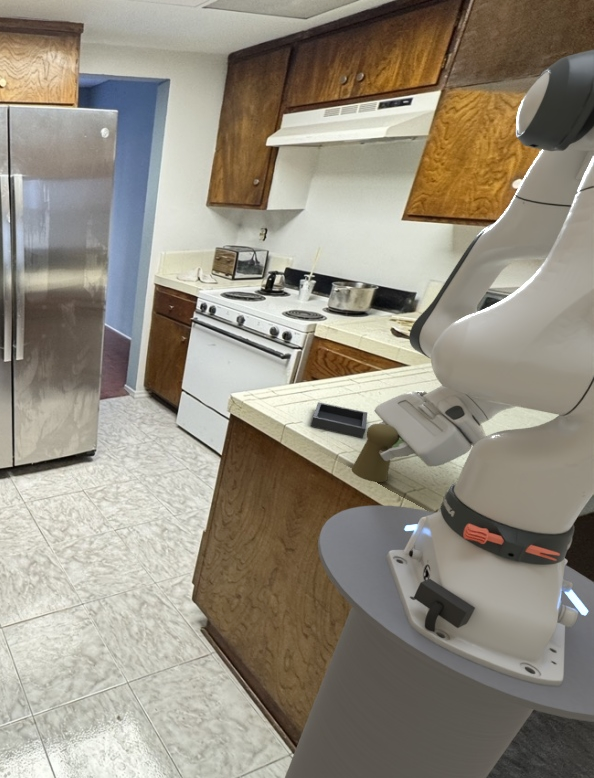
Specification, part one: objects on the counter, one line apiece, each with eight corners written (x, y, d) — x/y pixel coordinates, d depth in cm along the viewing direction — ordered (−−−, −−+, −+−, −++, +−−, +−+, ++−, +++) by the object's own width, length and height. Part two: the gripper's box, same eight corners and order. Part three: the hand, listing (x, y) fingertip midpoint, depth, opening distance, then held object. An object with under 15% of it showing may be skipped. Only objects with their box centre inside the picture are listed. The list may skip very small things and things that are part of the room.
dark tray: (362, 438, 110) (365, 429, 109) (310, 426, 116) (313, 417, 115) (364, 421, 117) (367, 412, 116) (315, 410, 123) (318, 402, 122)
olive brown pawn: (379, 467, 99) (396, 421, 94) (392, 484, 93) (411, 436, 89) (346, 463, 100) (362, 418, 96) (357, 479, 95) (374, 432, 90)
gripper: (412, 377, 97) (345, 414, 103) (473, 422, 79) (387, 464, 85) (430, 399, 98) (362, 434, 104) (494, 448, 80) (408, 487, 86)
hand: (374, 448), depth 94 cm, fingers open, 5 cm apart
